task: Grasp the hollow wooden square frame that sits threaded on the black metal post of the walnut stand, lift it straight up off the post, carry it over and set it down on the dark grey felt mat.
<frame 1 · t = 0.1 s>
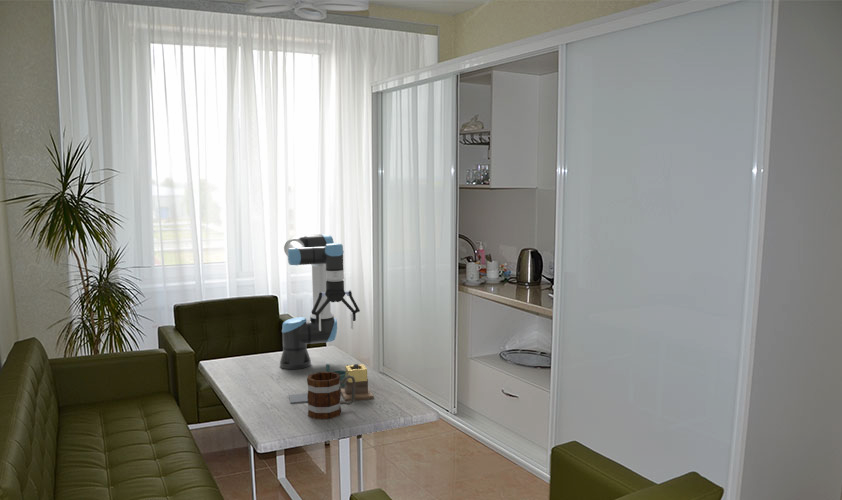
hand: (336, 329, 282), 28 cm above the table, fingers open, 13 cm apart
post stand: (356, 394, 282), on the table
felt mat: (301, 398, 278), on the table
hollow wooden square frame: (356, 378, 282), point 7 cm above the table, touching post stand
bracket: (338, 384, 298), on the table
mug: (332, 412, 262), on the table
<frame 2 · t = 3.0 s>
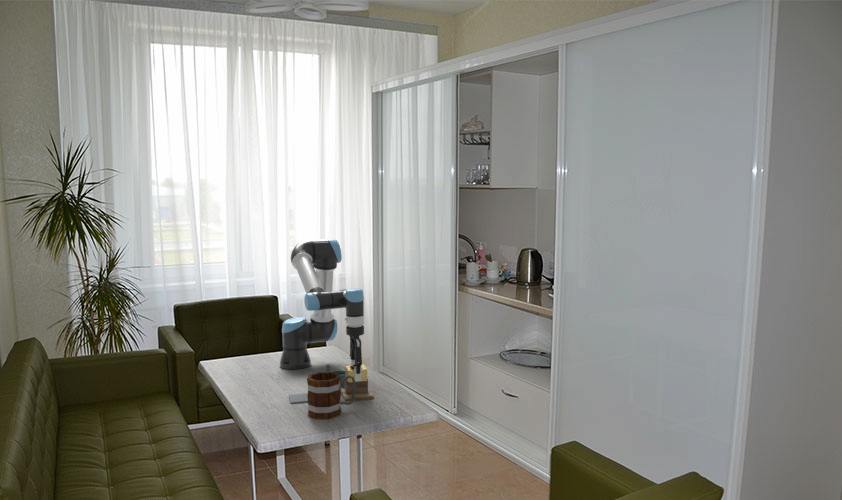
hand: (356, 377, 281), 8 cm above the table, fingers closed on hollow wooden square frame, 8 cm apart
hollow wooden square frame: (356, 378, 282), point 7 cm above the table, touching gripper, post stand
everything else where it was.
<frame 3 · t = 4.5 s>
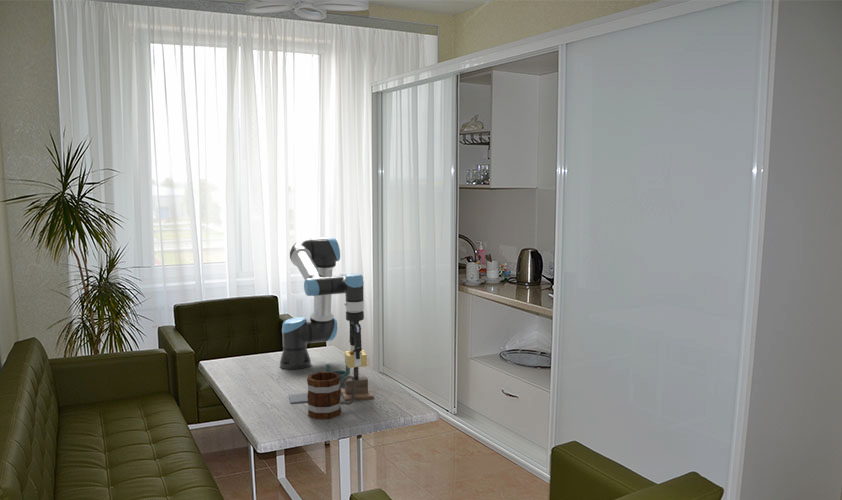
hand: (355, 363, 281), 14 cm above the table, fingers closed on hollow wooden square frame, 8 cm apart
hollow wooden square frame: (355, 364, 281), point 13 cm above the table, touching gripper
everything else where it was.
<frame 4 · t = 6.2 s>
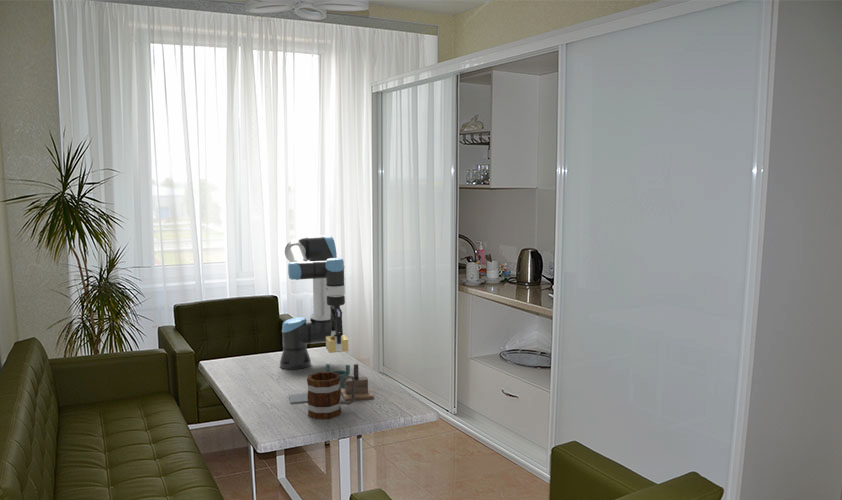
hand: (336, 348, 279), 21 cm above the table, fingers closed on hollow wooden square frame, 8 cm apart
hollow wooden square frame: (337, 349, 279), point 20 cm above the table, touching gripper
everything else where it was.
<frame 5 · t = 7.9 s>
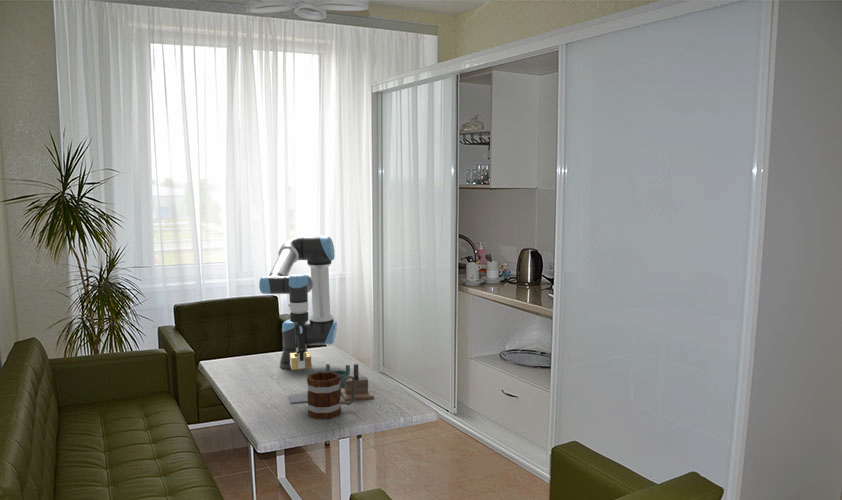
hand: (300, 365, 276), 15 cm above the table, fingers closed on hollow wooden square frame, 8 cm apart
hollow wooden square frame: (300, 366, 276), point 14 cm above the table, touching gripper
everything else where it was.
when the fingers open (3 cm above the table, at t = 9.6 s): hollow wooden square frame drops 1 cm, resting on felt mat.
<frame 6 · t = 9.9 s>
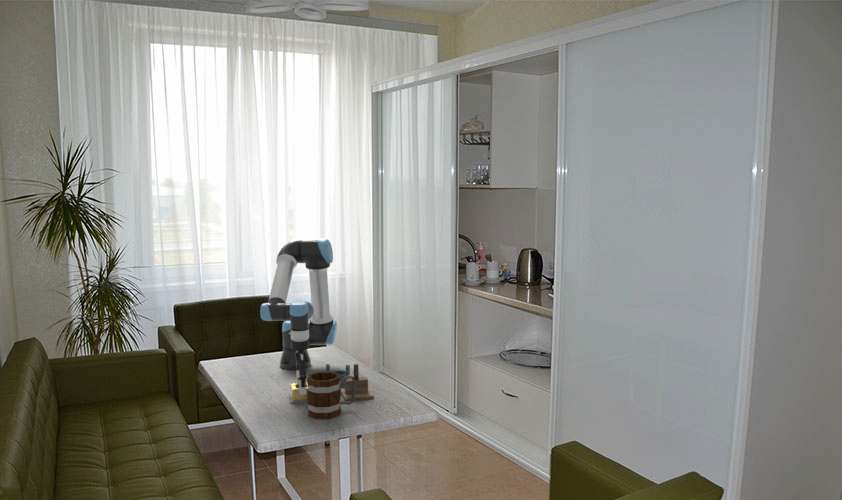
hand: (301, 389, 278), 4 cm above the table, fingers open, 12 cm apart
hollow wooden square frame: (301, 397, 278), point 1 cm above the table, touching felt mat
everything else where it was.
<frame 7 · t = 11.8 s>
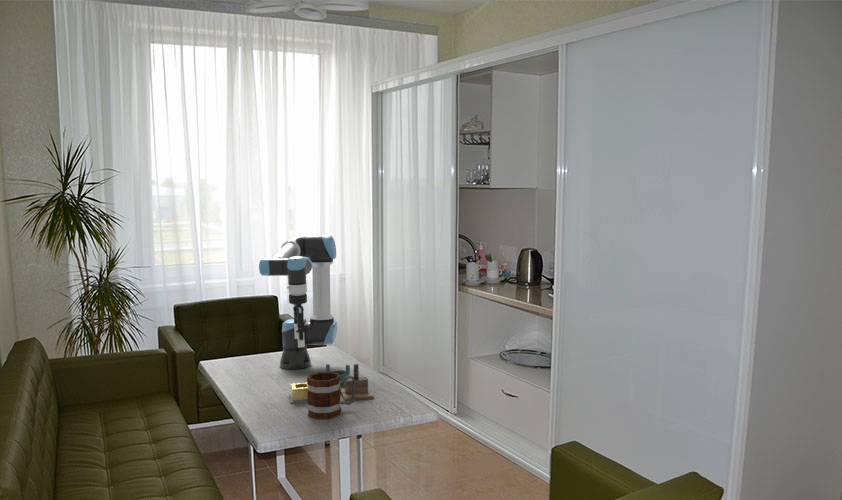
hand: (299, 342, 280), 23 cm above the table, fingers open, 13 cm apart
nothing on the table moved.
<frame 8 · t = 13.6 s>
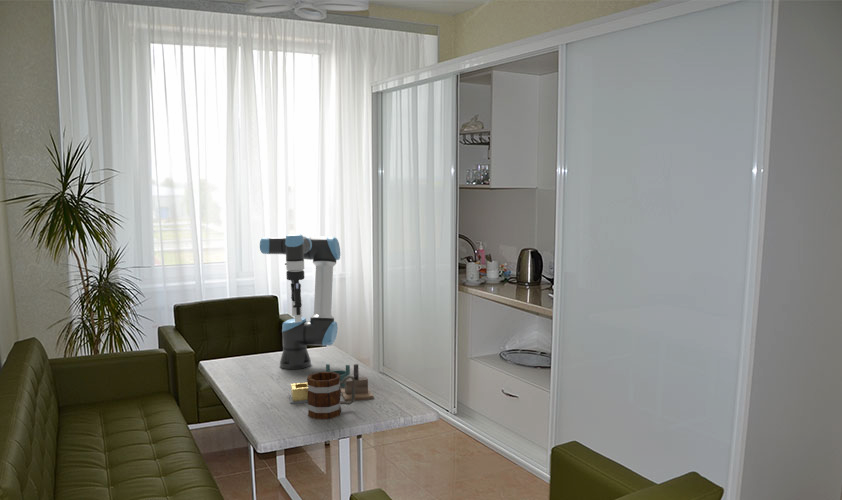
hand: (296, 319, 286), 32 cm above the table, fingers open, 13 cm apart
nothing on the table moved.
at the end: hollow wooden square frame inside the target area on the felt mat (0.1 cm from its centre), point 0.6 cm above the felt mat's base; hollow wooden square frame touching felt mat; the gripper is holding nothing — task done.
